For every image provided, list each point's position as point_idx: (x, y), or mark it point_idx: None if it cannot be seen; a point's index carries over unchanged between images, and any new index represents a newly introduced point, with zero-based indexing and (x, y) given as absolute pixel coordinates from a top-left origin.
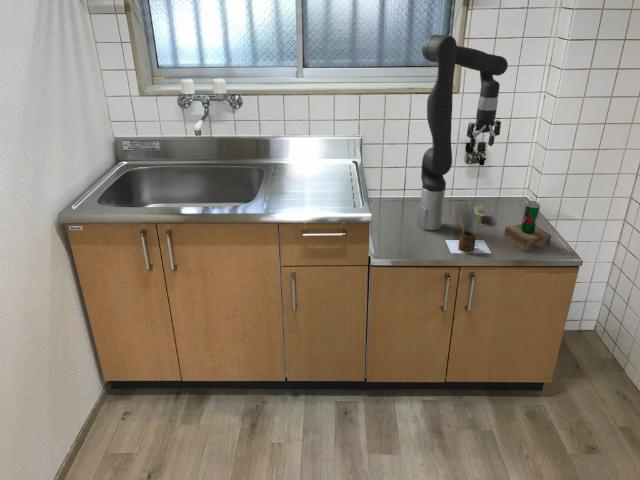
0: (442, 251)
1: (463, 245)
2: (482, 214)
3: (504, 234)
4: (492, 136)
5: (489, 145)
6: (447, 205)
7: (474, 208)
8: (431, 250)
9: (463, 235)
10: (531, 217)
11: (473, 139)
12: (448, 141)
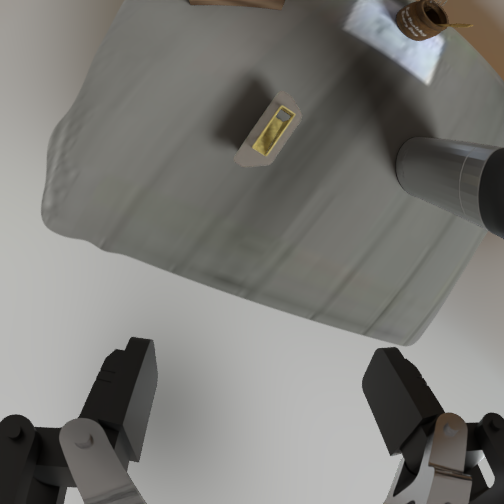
0: (454, 55)
1: (433, 19)
2: (290, 95)
3: (283, 4)
4: (113, 442)
5: (155, 358)
6: (287, 263)
7: (275, 157)
8: (469, 73)
9: (447, 18)
10: None
11: (433, 417)
12: None
